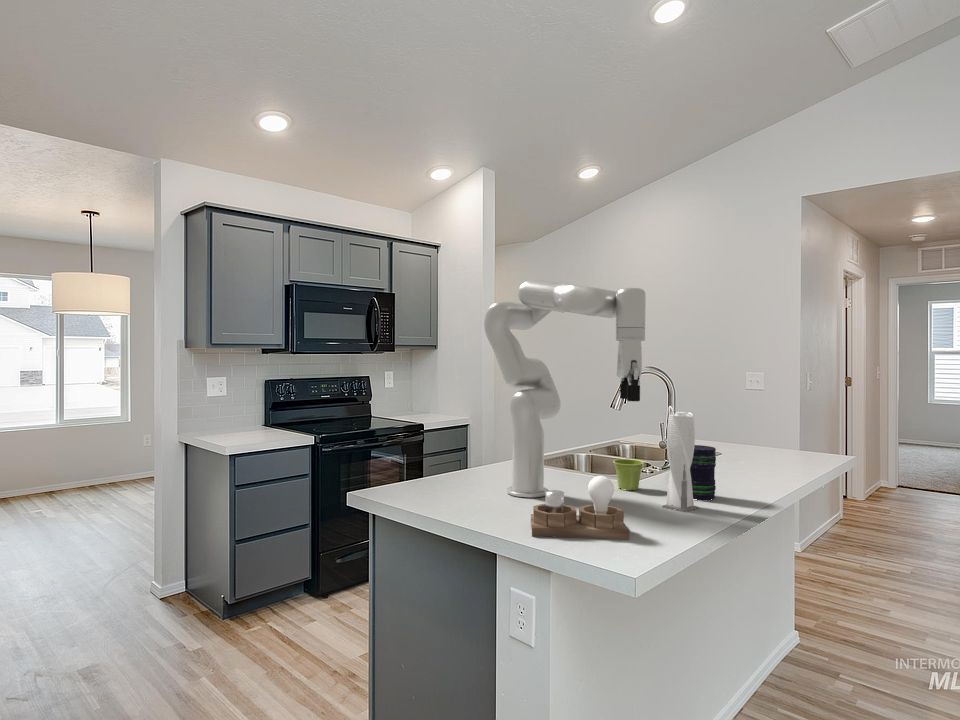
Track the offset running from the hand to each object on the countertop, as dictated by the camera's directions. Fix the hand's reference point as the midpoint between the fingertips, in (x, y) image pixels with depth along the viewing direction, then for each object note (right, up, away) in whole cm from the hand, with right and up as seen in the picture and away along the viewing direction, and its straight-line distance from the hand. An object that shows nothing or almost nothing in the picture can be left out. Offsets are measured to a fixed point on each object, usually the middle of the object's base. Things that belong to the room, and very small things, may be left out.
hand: (629, 399), depth 156 cm
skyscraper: (+16, -31, +9) cm, 36 cm away
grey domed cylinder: (-22, -28, -15) cm, 38 cm away
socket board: (-16, -30, -15) cm, 37 cm away
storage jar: (+26, -31, +22) cm, 46 cm away
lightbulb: (-11, -28, -15) cm, 34 cm away
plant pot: (+8, -31, +32) cm, 45 cm away
